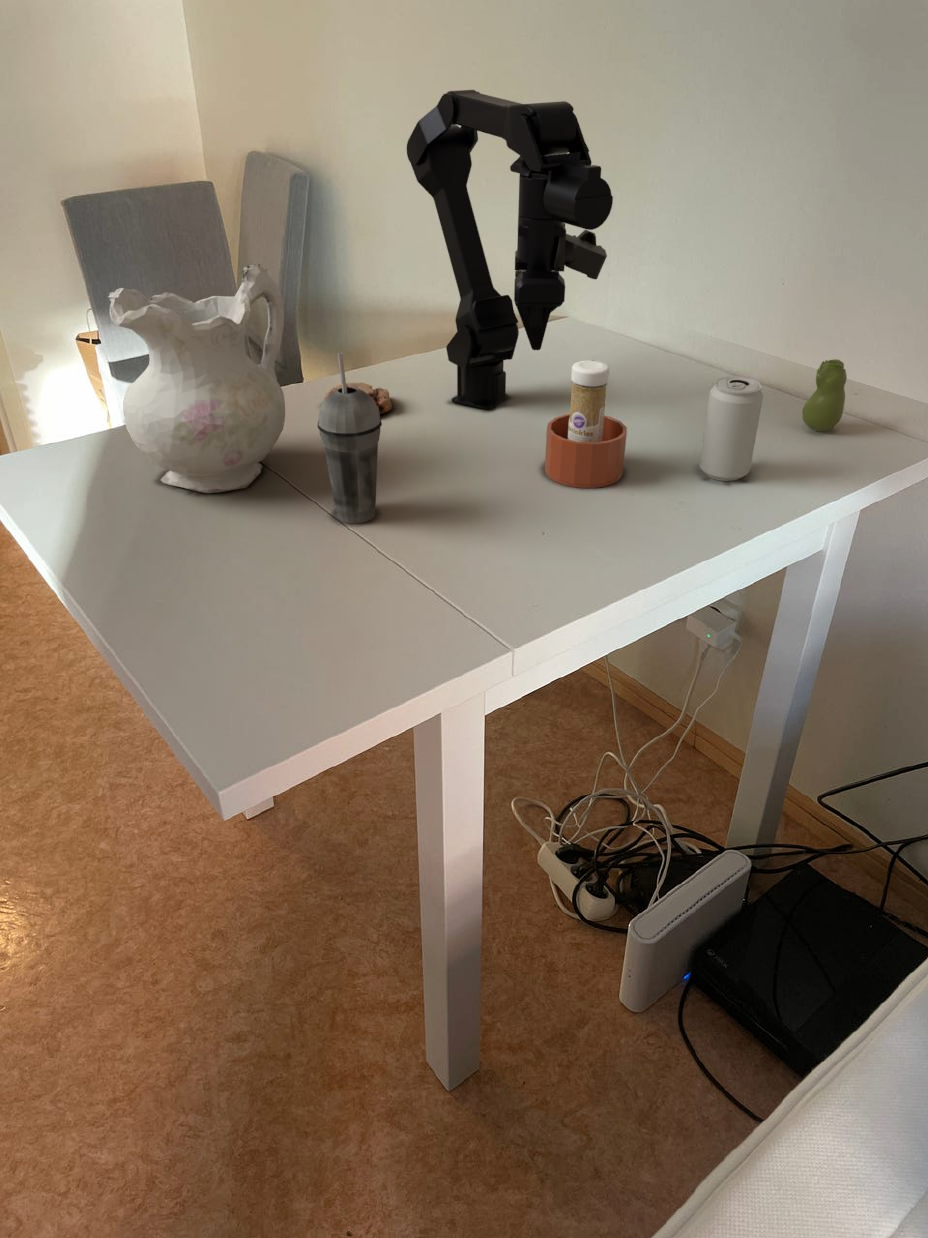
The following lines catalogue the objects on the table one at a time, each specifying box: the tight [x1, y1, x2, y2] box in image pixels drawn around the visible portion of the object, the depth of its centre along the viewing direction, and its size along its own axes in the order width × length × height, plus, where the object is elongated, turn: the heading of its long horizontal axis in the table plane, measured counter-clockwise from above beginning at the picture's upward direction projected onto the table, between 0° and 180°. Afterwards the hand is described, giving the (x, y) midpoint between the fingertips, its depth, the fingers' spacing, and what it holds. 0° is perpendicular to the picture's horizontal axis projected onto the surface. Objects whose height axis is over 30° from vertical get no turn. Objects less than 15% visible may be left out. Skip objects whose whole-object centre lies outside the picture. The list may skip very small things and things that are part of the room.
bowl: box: [544, 413, 628, 489], centre depth 123 cm, size 10×10×6 cm
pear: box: [801, 358, 848, 432], centre depth 134 cm, size 6×5×10 cm
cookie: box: [323, 382, 393, 415], centre depth 143 cm, size 10×11×3 cm
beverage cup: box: [317, 351, 383, 525], centre depth 109 cm, size 7×7×20 cm
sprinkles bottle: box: [568, 359, 610, 443], centre depth 121 cm, size 5×5×13 cm
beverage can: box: [699, 375, 764, 482], centre depth 121 cm, size 6×6×12 cm
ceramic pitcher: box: [108, 263, 286, 494], centre depth 118 cm, size 22×20×25 cm
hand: (535, 338), depth 129 cm, fingers open, 9 cm apart
